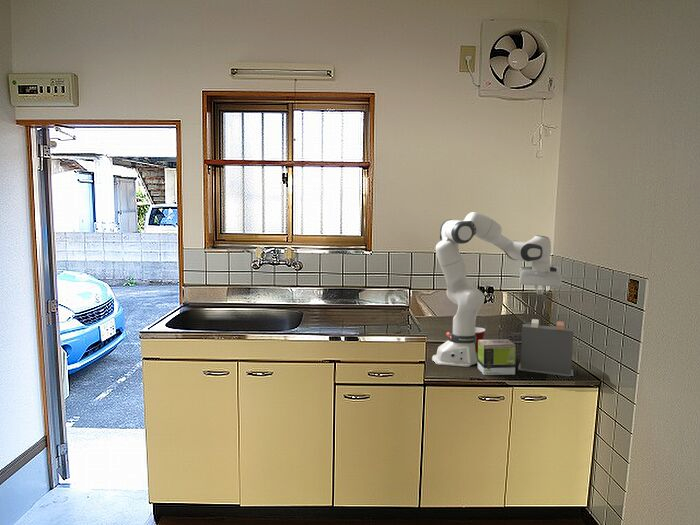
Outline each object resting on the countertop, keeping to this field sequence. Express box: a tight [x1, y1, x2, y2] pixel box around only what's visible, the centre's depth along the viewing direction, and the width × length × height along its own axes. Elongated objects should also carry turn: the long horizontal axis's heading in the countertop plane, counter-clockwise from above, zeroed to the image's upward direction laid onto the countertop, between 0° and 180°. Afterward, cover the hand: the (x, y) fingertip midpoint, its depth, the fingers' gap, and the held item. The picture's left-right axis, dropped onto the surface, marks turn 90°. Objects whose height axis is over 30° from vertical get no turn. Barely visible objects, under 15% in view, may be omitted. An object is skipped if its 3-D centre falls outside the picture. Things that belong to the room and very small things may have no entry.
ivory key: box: [530, 318, 540, 328], centre depth 228 cm, size 4×10×7 cm, turn 157°
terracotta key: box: [556, 320, 565, 330], centre depth 224 cm, size 4×10×7 cm, turn 157°
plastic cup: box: [475, 326, 486, 353], centre depth 258 cm, size 11×11×12 cm
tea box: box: [477, 338, 517, 376], centre depth 224 cm, size 15×10×15 cm
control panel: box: [517, 323, 574, 377], centre depth 225 cm, size 24×8×21 cm, turn 67°
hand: (539, 294), depth 245 cm, fingers closed
